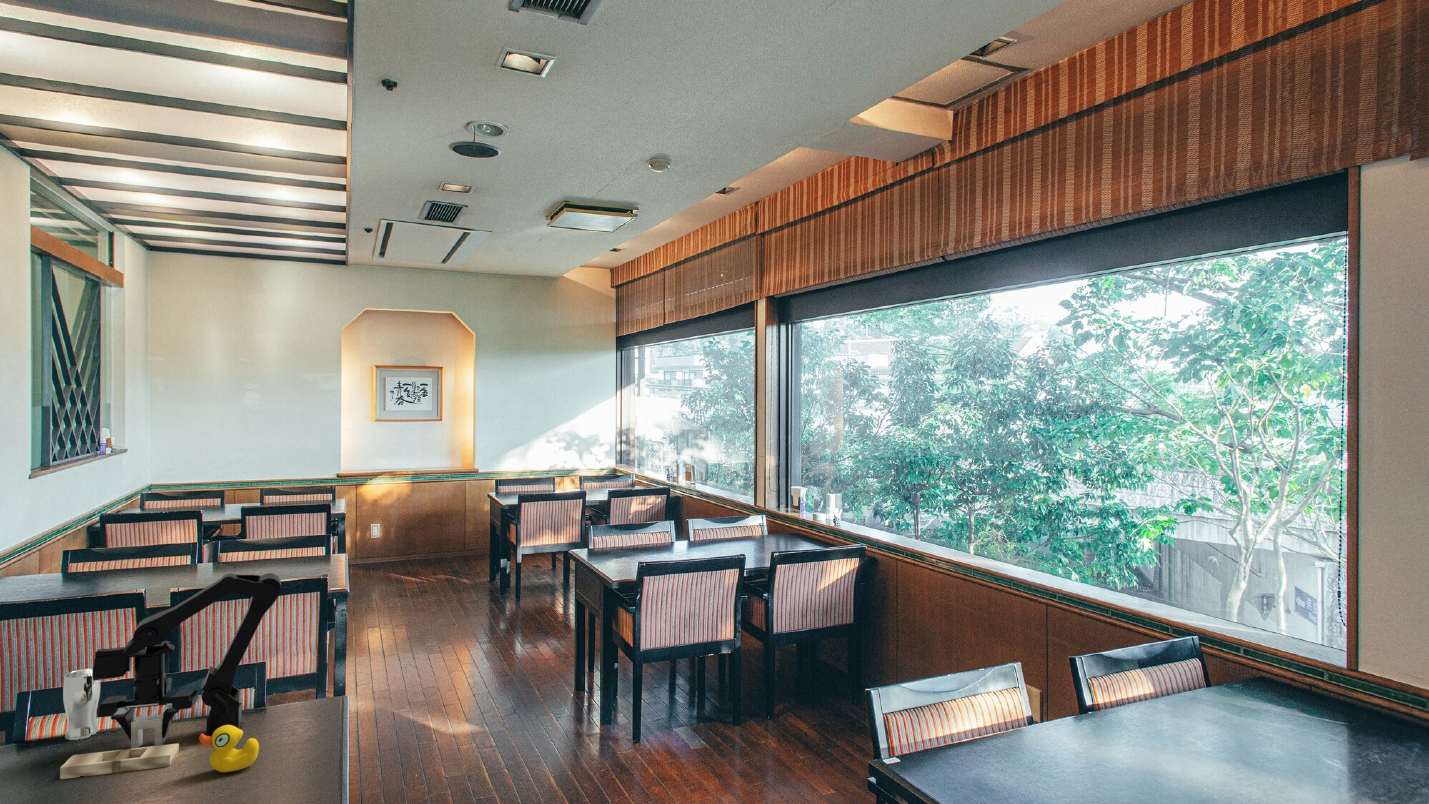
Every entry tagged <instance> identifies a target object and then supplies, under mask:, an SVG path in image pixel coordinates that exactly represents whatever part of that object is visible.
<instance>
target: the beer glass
mask: <svg viewBox="0 0 1429 804" xmlns="http://www.w3.org/2000/svg"><path fill="white" fill-rule="evenodd" d="M92 669H93V667H91V668H88V667H87V668H81V669H75V670H73V671H69V672H67V673H65V675H64V679H63V687H62V691H63V692H62V694H63V695H62V698H63V699H62V700H63V705H64V711H65V715H66V721H67V724H66V725H67V726H66V730H65V734H64V735H65V736H64V739H65V738H66V739H65V740H67V739H68V740H67V741H80V740H84V739H87V738H90V736H91V735H93V734H95V735H96V734H97V733H98V731H99V730H98V725H97V717H96V714H97V707H98V706H99V700H100V696H101V680H96V681H94V680H93V675H92ZM96 732H97V733H96ZM93 736H94V735H93ZM91 737H92V736H91ZM79 739H80V740H79Z"/></svg>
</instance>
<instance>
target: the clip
mask: <svg viewBox="0 0 1429 804" xmlns="http://www.w3.org/2000/svg"><path fill="white" fill-rule="evenodd" d="M162 727H163V713H162V714H152V715H143V716H135V717H134V720H133V721H132V722H131V741H130V749H132V748H141V746H142V745H143V744H144V743H143V741H144V739H143V737H144V736H143V735H144V733H143V731H144V730H147V729H154V743H153V744H154V745H153V746H159V745H165V743H166V741H167V740H166V739H167V738H166V737H167V736H166V737H165V738H163V735H162Z"/></svg>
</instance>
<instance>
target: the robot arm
mask: <svg viewBox="0 0 1429 804" xmlns="http://www.w3.org/2000/svg"><path fill="white" fill-rule="evenodd" d="M281 593H282V581H281V579H280V577H279V575H277V574H275V573H271V572H268V573H264V574H262V575H260V574H259V575H257V574H235V573H233V572H231V573H230V572H229V573H227V574H224V575H223V576H222V577H221V578H219V579H217V580H216V581H214V582H213V583H211V584H209V585H208V586H207V587H205V588H203V589H201V590H200V591H198V592H196V593H195V594H193V595H192V596H190V597H188V598H187V599H185V600H183V601H182V602H180V603H179V604H177V605H175V606H174V607H170V608H168V609H165V610H162V611H159V612H157V613H154V614H152V615H150V616H148V617H145V618H143V619H142V620H141V621H140V622H139V623H138V624H137V626H136V628H135V631H134V633H133V637H132V638H131V640H128V642H127V644H126V646H122V647H112V648H98V649H96V651H95V653H94V656H95V657H94V661H93V667H92V668H93V669H92V675H93V680H94V681H96V680H100V681H102V680H109V679H110V680H111V679H116V678H123V677H125V676H126V675H127V672H129V673H130V672H131V671H132V667H133V666H134V668H133V669H134V670H133V671H134V675H133V682H132V688H133V698H132V699H127V696H126V695H125V694H124V695H114V696H107V697H106V698H105V699H104V700H103V701H102V702H100V704H98V706H97V710H96V718H99V719H100V718H109V717H110V720H115V722H117V723H118V724H119V726H120V727H121V728H122V730H123V731H124V734H126V736H127V738H128V740H129V741H130V742H131V722H132V721H133V720H134V719H135V717H134V715H135V709H137V708H149V707H159V706H166V707H167V708H166V709H165V710H164V711H163V713H162V714H163V727H162V735H163V738H165V737H167V736H168V735H167V734H168V733H169V730H170V728H171V727H170V726H171V725H172V722H173V720H174V718H175V715H176V714H178V713H180V712H181V710H189V709H192V708H193V707H194V706H195V705H196V703H197V702H198V700H199V694H200V693H199V691H198V690H197V688H193V689H192V688H191V689H190V688H189V689H181V690H178V691H177V692H176V694H174V695H167V694H168V693H169V692H171V691H172V690H171V689H172V683H173V677H167V674H166V671H165V654H171V653H174V650H175V645H174V644H172V643H170V642H169V640H164V639H166V637H168V635H170V634H171V633H172V632H173V631H174V630H176V628H177V627H178V626H179V625H181V624H182V623H183V622H185V621H187V620H188V619H189V618H192V617H193V616H194V615H196V614H197V613H199V612H201V611H203V610H204V609H205V608H208V607H209V606H211V605H212V604H214V603H215V602H217V601H218V600H220V599H222V598H223V597H225V596H228V595H229V594H237V595H240V596H246V597H250V601H249V604H248V608H247V610H246V612H245V614H244V616H243V618H242V620H241V622H240V624H239V626H238V628H237V630H236V632H235V633H234V636H233V638H232V640H231V641H230V644H229V646H228V648H227V650H226V651H225V654H224V656H223V658H222V660H221V662H220V663H219V664H218V665H217V666H216V667H213V666H209V668H208V671H207V674H206V676H205V677H204V678H203V680H201V685H200V691H201V701H202V703H203V704H204V705H206V706H207V707H210V709H209V711H208V712H209V713H208V715H207V716H206V734H207V735H206V736H211V737H212V735H213V733H214V731H215V730H216V729H218V728H219V727H221V726H224V725H232V726H235V727H237V728H238V729H241V730H242V728H243V726H244V722H243V719H242V715H243V714H242V713H243V709H242V707H243V705H242V703H243V702H240V700H241V691H240V689H238V688H237V687H235V686H234V685H233V684H234V681H235V676H236V673H237V669H238V667H239V665H240V663H241V661H242V659H243V658H244V655H245V654H246V652H247V649H248V647H249V645H250V643H251V641H252V639H253V637H254V635H255V633H256V631H257V629H258V627H259V625H260V623H261V621H262V619H263V617H264V615H266V613H267V612H268V611H269V610H270V609H271V607H273V604H275V602H276V601H277V600H278V598H279V596H280V595H281ZM163 640H164V642H163V643H162V644H160V643H161V642H162V641H163ZM145 648H146V649H145ZM133 658H134V662H133ZM133 663H134V665H132V664H133Z"/></svg>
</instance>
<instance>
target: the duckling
mask: <svg viewBox="0 0 1429 804" xmlns="http://www.w3.org/2000/svg"><path fill="white" fill-rule="evenodd" d="M243 736H244V731H243V730H242V728H241V729H238V728H237V727H235V726H232V725H224V726H221V727H219V728H218V729H216V730H215V731H214V733H213V735H212V737H211V736H207V735H206V734H204V733H201V734H200V735H199V738H198V739H199V741H200V744H201V745H202V746H204V747H210V748H211V747H214V748H213V749H214V750H213V751H212V752H211V754H210V756H209V759H208V760H209V764H210V766H211V768H213V770H216V771H217V772H220V773H223V774H224V773H230V772H237V771H240V770H243V769H245V768H247V767H248V766H250V765H252V764H253V763H254V762H255V761H256V759H257V758H258V755H259V750H260V743H259V741H258V740H257V739H256V738H254V737H250V738H248V739H247V740H246V741H245V745H244V747H243V748H240V749H236V748H235V746H237V744H238V743H239V741H240V740H241V739H242V738H243Z"/></svg>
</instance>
